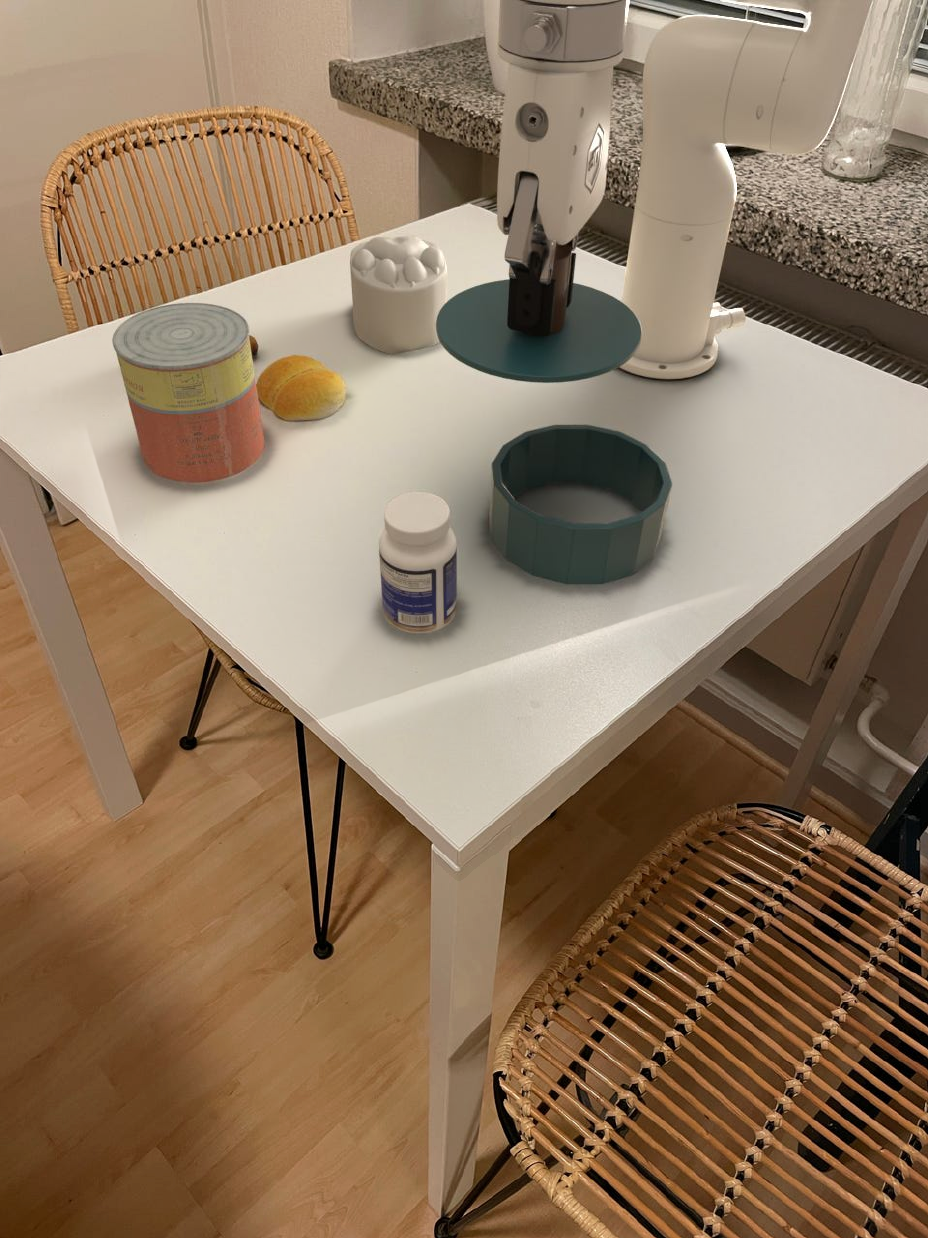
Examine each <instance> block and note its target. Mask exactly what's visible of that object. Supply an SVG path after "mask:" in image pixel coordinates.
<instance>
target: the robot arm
mask: <svg viewBox="0 0 928 1238" xmlns="http://www.w3.org/2000/svg"><path fill="white" fill-rule="evenodd" d="M721 1H722V2H726V3H732V4H738V5H744V6H750V7H751V6H752V7H758V8H764V9H765V8H766V9H773V10H781V11H788V12H793V13H800V14H803V15H804V16H805V17H806V18H807V19H808V25H807V26H806V28H802V27H795V26H788V25H780V24H774V23H765V22H760V21H758V20H756V21H755V20H750V19H743V18H735V17H730V16H729V17H728V16H720V15H711V14H695V15H694V14H693V15H685V16H681V17H678V18H676V19H674V20H671V21H669V22H668V23H666V24H665V25H664V26H663V27H661V28H660V29H659V30H658V32H656V34H655V35H654V37H653V39H652V40H651V42H650V44H649V47H648V49H647V52H646V55H645V59H644V65H643V73H642V92H641V94H642V145H641V155H640V156H641V157H640V165H639V173H638V180H637V181H638V183H637V190H636V196H635V204H634V209H633V217H632V224H631V231H630V239H629V246H628V253H627V259H626V266H625V267H626V268H625V274H624V279H623V280H624V281H623V286H622V287H623V288H622V295H621V300H620V301H621V302H622V303H624V304H625V305H626V306H628V307H629V308H630V309H631V310H632V311H633V312H634V314H635V315H636V317H637V318H638V320H639V322H640V325H641V330H642V335H641V342H640V345H639V348H638V350H637V351H636V353H635V354H634V356H633V357H632V358H631V359H630V360H628V361H627V362H626V363H625V364H623V365H622V366H620V367H618V368H620V369H622V370H623V371H626V372H628V373H630V374H633V375H635V376H636V375H637V376H641V377H645V378H650V379H659V380H661V379H662V380H678V379H686V378H687V379H688V378H691V377H694V376H698V375H700V374H703V373H704V372H706V371H708V370H710V369H711V368H712V367H714V365H715V363H716V362H717V358H718V353H719V344H718V342H717V340H716V338H715V335H718V334H720V333H721V332H722V330H725V329H732V328H736V327H740V326H743V325H744V324H745V323H746V313H745V310H744V309H743V308H742V307H737V308H736V307H735V308H732V309H727V310H725V311H722V306H721V304H720V302H715V299H716V294H717V289H718V284H719V280H720V274H721V270H722V267H723V262H724V256H725V251H726V248H727V247H726V246H727V242H728V237H729V233H730V228H731V223H732V219H733V214H734V210H735V205H736V200H737V180H736V179H737V178H736V173H735V170H734V166H733V163H732V161H731V158H730V156H729V153H728V151H727V149H726V146H725V145H731V146H736V147H744V148H747V149H748V148H749V149H753V150H759V151H765V152H770V153H777V154H783V155H784V154H785V155H791V156H792V155H793V156H800V155H805V154H809V153H811V152H813V151H815V150H816V149H818V147H819V146H821V145H822V143H823V142H824V141H825V140H826V138H827V136H828V134H829V133H830V131H831V128H832V126H833V124H834V121H835V119H836V117H837V115H838V111H839V108H840V105H841V102H842V100H843V96H844V93H845V92H846V91H845V90H846V87H847V84H848V81H849V77H850V75H851V71H852V68H853V65H854V63H855V58H856V56H857V52H858V50H859V46H860V43H861V40H862V36H863V34H864V30H865V27H866V24H867V20H868V18H869V15H870V11H871V8H872V5H873V2H874V0H721ZM629 6H630V0H499V11H498V12H499V14H498V39H497V42H498V43H497V56H498V57H499V58H500V59H501V60H503V61H504V62H506V63H508V68H507V75H506V83H505V84H506V85H505V92H504V93H505V94H504V100H503V110H502V121H501V129H500V142H499V143H500V144H499V155H498V156H499V157H498V167H497V168H498V171H497V185H496V186H497V187H496V188H497V189H496V215H497V216H496V222H497V227H498V229H499V230H500V232H501V233H502V234H503V235H504V236H508V237H507V240H506V245H505V250H504V261H505V262H506V263H507V264H509V267H508V279H509V297H508V316H507V326H508V328H509V329H511V330H515V331H520V332H525V333H530V334H535V335H540V336H548V335H549V334H550V333H551V331H552V325H553V314H554V303H555V292H556V281H557V280H554V279H551V278H552V272H553V265H554V257H555V250H556V242H557V243H558V244H559V245H565V244H567V245H569V246H570V248H571V250H572V256H571V266H570V277H569V287H568V297H567V307H568V306H569V305H570V303H571V300H572V290H573V283H574V280H575V271H576V270H575V269H576V259H577V253H576V252H575V251H576V249H577V245H578V241H579V233H580V231H581V230H582V229H583V228H584V226H585V225H586V223H588V221H589V219H591V217H592V216H593V214H594V213H595V212H596V211H597V209H598V208H599V206H600V204H601V203H602V201H603V199H604V195H605V192H606V184H607V175H608V174H607V172H608V161H609V160H608V159H609V150H610V149H609V147H610V134H611V122H612V107H613V88H614V67H616V66H618V65H619V64H620V63H621V62H622V60H623V57H624V49H625V48H624V47H625V39H626V31H627V22H628V14H629ZM535 226H536V229H535ZM531 243H535V244H540V245H544V249H543V257H542V259H541V256H540V254H539V252H536V251H533V249H532V247H531ZM567 307H566V308H567Z"/></svg>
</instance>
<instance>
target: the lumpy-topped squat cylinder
mask: <svg viewBox="0 0 928 1238" xmlns="http://www.w3.org/2000/svg"><path fill="white" fill-rule="evenodd" d="M349 267H350V268H349V269H350V283H351V284H350V285H351V299H352V313H353V314H352V316H353V327H354V331H355V335H356V336H357V338H358V339H359V340H361V341H362V342H363V343H365V344H366V345H367V346H369V347H370V348H372V349H374V350H377V351H380V352H382V353H385V354H389V355H397V354H402V353H407V352H412V351H416V350H422V349H427V348H432V347H435V346H436V345H438V344H439V343H440V341H439V339H438V336H437V332H436V320H437V316H438V313H439V311H440V310H441V308H442V307H443V305H444V304H445V303H446V302H447V301H448V265H447V261H446V258H445V256H444V254H443V251H442V250H441V248H440V247H439V246H438V245H437V244H436V243H434V242H431V241H429V240H425V239H421V238H420V237H418V236H416V235H405V236H397V237H395V236H394V237H393V236H392V237H391V236H377V237H373V238H371V239H370V240H368V241H364V242H361V243H359V244H357V245H355V246H354V247H353V248H352V249H351V251H350V257H349Z"/></svg>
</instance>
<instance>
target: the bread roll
mask: <svg viewBox="0 0 928 1238" xmlns="http://www.w3.org/2000/svg"><path fill="white" fill-rule="evenodd" d="M345 384H346V383H345V381H344V379H343V378H342V376H341V374H338V373H337V372H336V371H333V370H330V369H329V368H327V366H326V365H324V364H323V363H322V362H321V361H319V360H317V359H315V358H313V357H312V356H311V357H310V356H307V355H299V354H291V355H287V356H283V357H281V358H279V359H277V360H275V361H274V362H271V364H269V365H268V366H267V367H266V368H265V369H264V370H263V371H262V372H261V373H260V375H259V376H258V378H257V380H256V387H257V394H258V400H259V401H260V402H261V403H262V404H263V405H264V406H265V407H266V408H268V409H269V410H271V411H272V412H273V413H274V414H275V415H276V416H277V417H278V418H280V419H282V420H284V421H287V422H288V421H289V422H301V421H316V420H321V419H326V418H327V417H330V416H332V415H334V414H335V413H337V412H338V411H339V410H340V409H341V408H342V407H343V405H344V404H345V402H346V399H347V398H346V397H347V388H346V385H345Z"/></svg>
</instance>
